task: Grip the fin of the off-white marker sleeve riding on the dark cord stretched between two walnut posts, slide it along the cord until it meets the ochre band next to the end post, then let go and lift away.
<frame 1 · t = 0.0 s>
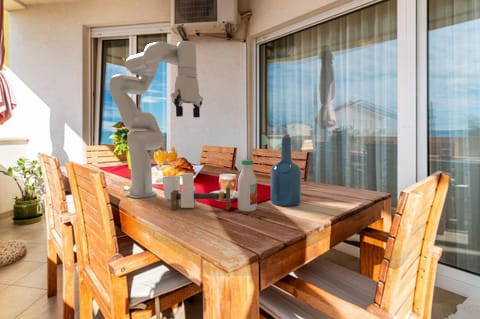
hand: (188, 116, 111), 37 cm above the table, tool pointing down, fingers open, 9 cm apart
marker sleeve: (188, 189, 110), point 8 cm above the table, slide at 0.0 cm
wine bottle: (285, 203, 118), on the table
milk bottle: (247, 209, 109), on the table
white cup: (171, 198, 127), on the table
cord rail: (200, 208, 110), on the table
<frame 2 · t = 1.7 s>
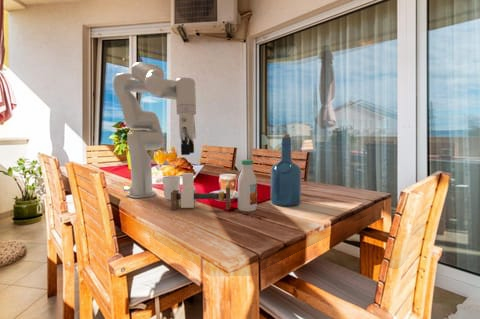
hand: (188, 153, 108), 22 cm above the table, tool pointing down, fingers open, 9 cm apart
nothing on the table moved.
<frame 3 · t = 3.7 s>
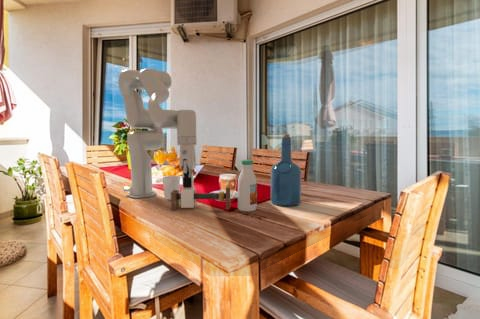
hand: (188, 186, 109), 9 cm above the table, tool pointing down, fingers closed on marker sleeve, 2 cm apart
marker sleeve: (188, 189, 110), point 8 cm above the table, slide at 0.0 cm, touching gripper
everything else where it was.
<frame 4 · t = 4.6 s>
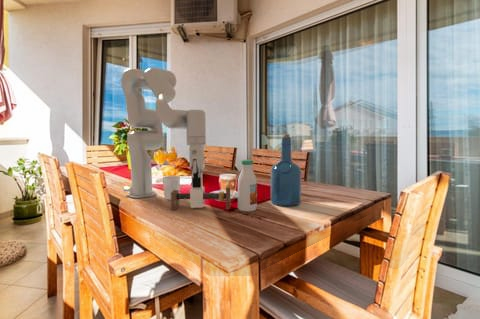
hand: (197, 186, 109), 9 cm above the table, tool pointing down, fingers closed on marker sleeve, 2 cm apart
marker sleeve: (197, 189, 110), point 8 cm above the table, slide at 3.7 cm, touching gripper
everything else where it was.
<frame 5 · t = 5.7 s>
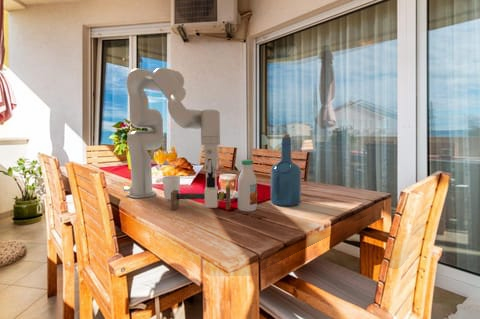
hand: (211, 186, 109), 9 cm above the table, tool pointing down, fingers closed on marker sleeve, 2 cm apart
marker sleeve: (211, 189, 110), point 8 cm above the table, slide at 9.4 cm, touching gripper
everything else where it was.
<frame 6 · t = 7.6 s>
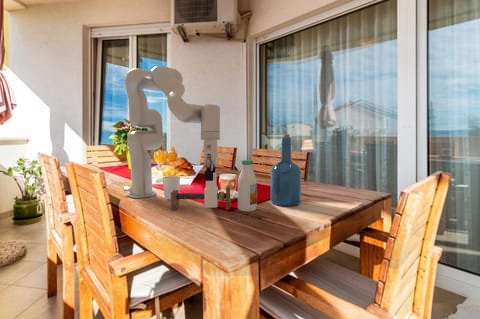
hand: (210, 178, 109), 12 cm above the table, tool pointing down, fingers open, 9 cm apart
marker sleeve: (211, 189, 110), point 8 cm above the table, slide at 9.4 cm
everything else where it was.
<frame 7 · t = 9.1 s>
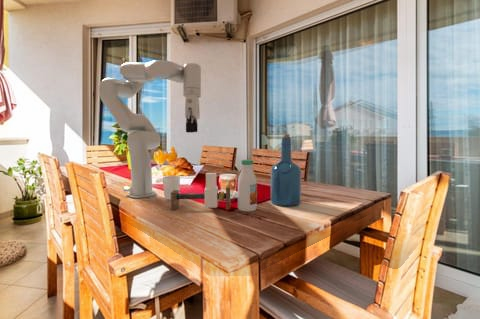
hand: (191, 132, 120), 31 cm above the table, tool pointing down, fingers open, 9 cm apart
nothing on the table moved.
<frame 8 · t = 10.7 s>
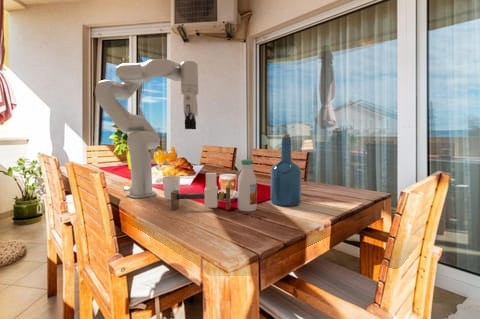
hand: (190, 129, 122), 32 cm above the table, tool pointing down, fingers open, 9 cm apart
nothing on the table moved.
at the end: marker sleeve slide at 9.4 cm; the gripper is holding nothing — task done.
